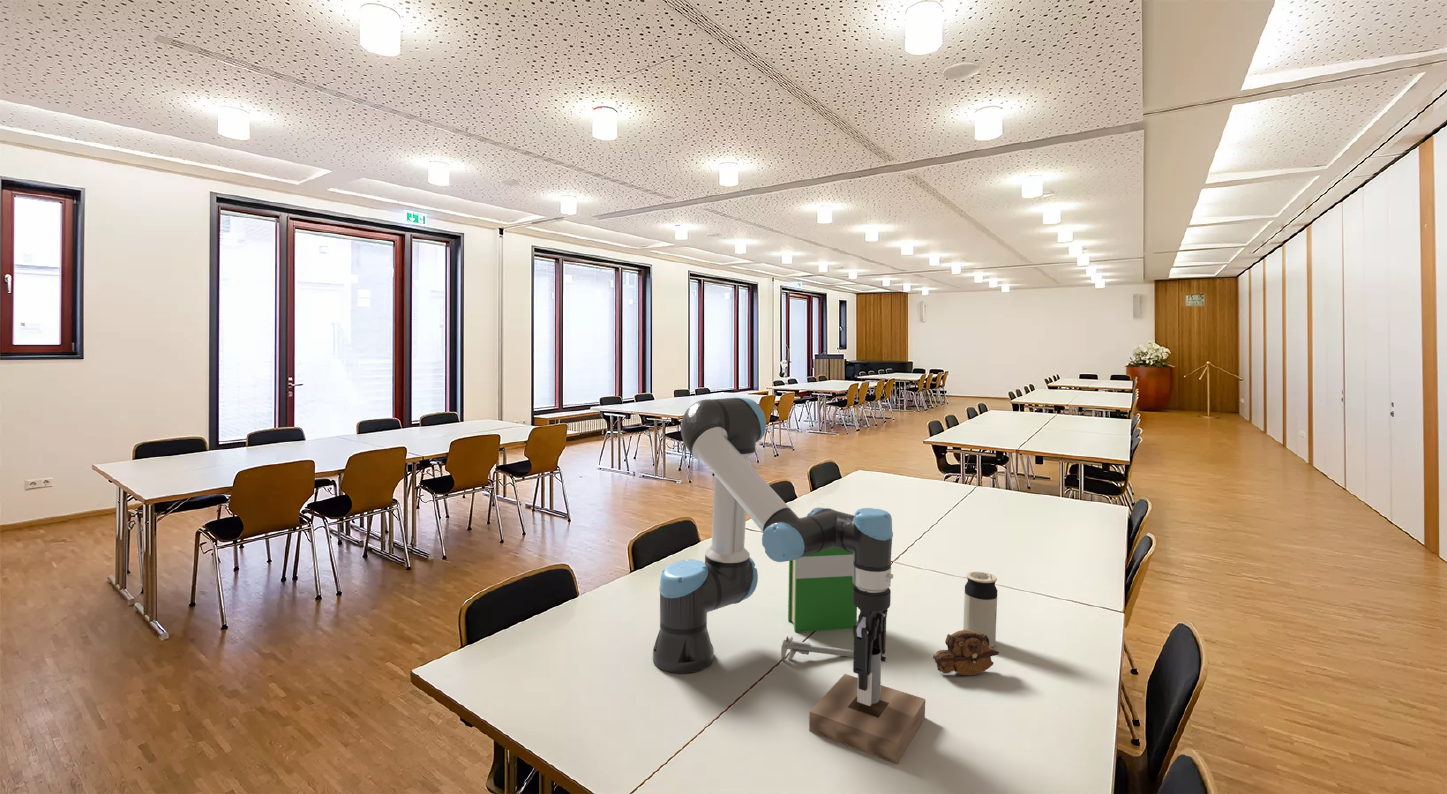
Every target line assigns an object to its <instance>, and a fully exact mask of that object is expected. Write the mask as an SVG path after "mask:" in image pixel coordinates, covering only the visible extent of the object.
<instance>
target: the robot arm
mask: <svg viewBox="0 0 1447 794" xmlns="http://www.w3.org/2000/svg"><path fill="white" fill-rule="evenodd" d="M766 419H767V418H766V415H765V413H764V411H763V409H762V408H761V405H759V404H758V403H757V401H755V400H753V399H751V398H746V397H727V398H726V397H725V398H712V399H711V398H709V399H701V400H698V401H696V402H694V403H693V404H691V405H690V406H689V407H688V408H687V409H686V411H685V412H684V414H683V416H682V419H681V422H680V423H681V424H680V435H681V438H682V441H683V443H684V445H685V448H686V449H687V450H688V452H689V453H690V454H691V455H692V457H694V459H695V460H697V461H702V462H703V463H704V464H705V465H706V467H708V469H709V470H710V471H711V472H712V474H713V475H714V481H713V482H714V483H713V500H712V501H713V504H712V505H713V506H712V508H713V509H712V527H711V545H710V546H709V547H708V548H707V549H706V550H705V553H704V554H705V555H704V561H702V560H700V559H699V560H698V559H688V560H685V559H682V560H678V561H675V562H673V563H671V564H668V565H667V566H666V567H665V568H663V570H662V571H661V574H660V581H659V587H658V588H659V629H658V630H659V631H658V633H657V637H656V639H655V642H654V646H653V649H652V662H653V664H654V666H655V667H657V668H658V669H660V670H662V671H664V672H669V673H674V674H689V673H690V674H691V673H695V672H699V671H702V670H704V669H706V668H708V667H709V666H710V665H712V663H713V662H714V649H715V648H714V646H713V643H712V641H711V637H710V634H709V631H708V627H707V626H708V625H707V624H708V613H709V612H712V611H716V610H718V609H721V608H724V607H727V606H730V605H735V604H739V603H741V602H742V601H744V600H746V599H749V598H750V597H751V596H752V595H753V593H755V591H756V588H757V586H758V579H759V574H758V569H757V568H756V567H755V566H756V564H755V561H754V560H753V558H752V557H751V556H750V552H749V551H748V550H747V549H746V548H745V543H746V542H745V541H746V540H745V539H746V524H747V523H746V522H747V520H746V519H747V518H746V517H747V515H748V516H749V517H750V518H751V520H752V521H753V522H754V523H755V524H756V525H757V527H758V528H759V530H760V531H761V532H763V533H762V535H761V544H762V547H763V548H764V553H765V554H766V556H767V557H768V558H769V559H770V560H772V561H774V562H777V563H784V562H789V561H790V560H796V559H798V558H800V557H803V556H806V555H809V554H812V553H817V552H821V551H824V550H827V549H831V548H838V549H842V550H845V551H848V552H852V553H853V584H854V586H853V598H852V601H853V604H854V605H855V606H856V607H857V609H858V610H859V614H858V616H857V624H858V625H857V626H855V625H854V627H853V629H852V635H853V650H854V657H852V658H853V665H852V667H853V668H852V672H853V673H854V674H856V675H857V678H858V688H857V702H859V703H862V704H865V705H868V706H870V705H871V698H872V673H870V669H871V659H872V649H873V646H876V647H878V648H879V649H880V650H881V663H882V662H883V663H885V662H886V660H887V657H886V656H884V655H885V654H886V647H887V646H886V641H887V639H886V636H887V635H886V634H887V617H888V610H889V608H890V607H891V588H890V587H891V585H892V584H891V582H892V580H893V578H894V574H893V573H892V547H893V545H892V544H893V537H894V532H893V519H892V515H891V513H890V512H888V511H886V510H884V509H880V508H873V507H872V508H871V507H863V508H859V509H857V510H856V511H855V512H854V514H850V513H846V512H842V511H837V510H835V509H832V508H829V507H828V508H825V507H815V508H812V509H811V511H810V512H809V513H808V514H807V515H806V516H804V517H798V515H797V514H796V513H795V512H794V511H793V510H792V509H791V508H790V507H789V505H788V504H787V503H786V502H785V501H784V499H782V498H781V497H780V495H779V494H778V493H777V492H776V491H775V490H774V489H773V488H772V487H771V486H770V485H769V483H767V481H766V480H765V479H764V478H763V477H762V476H761V475H760V474H759V472H758V471H757V470H756V469H755V468H754V467H753V466H752V465H751V464H750V458H751V457H752V456H753V455H754V454H755V453H756V447H757V446H756V443H758V442H759V441H761V440H762V439H763V437H764V436H765V435H766V431H767V421H766ZM881 679H882V672H881V673H880V689H881V685H882V683H881Z"/></svg>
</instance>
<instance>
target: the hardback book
mask: <svg viewBox="0 0 1447 794" xmlns="http://www.w3.org/2000/svg"><path fill="white" fill-rule="evenodd" d="M853 586H854V584H853V553H852V552H848V551H845V550H842V549H838V548H831V549H827V550H824V551H821V552H817V553H812V554H809V555H806V556H803V557H800V558H798V559H796V560H790V561H788V601H787V602H788V603H787V607H788V608H787V609H788V610H787V622H788V623H793V629H794V630H793V631H794V632H795V633H802V632H803V633H804V632H817V631H819V632H821V631H834V630H835V631H837V630H849V629H850V630H851V629H852V630H853V627H854V625H855V626H858V607H856V606H855V605H854V604H853V601H852V598H853Z"/></svg>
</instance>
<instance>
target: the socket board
mask: <svg viewBox="0 0 1447 794" xmlns="http://www.w3.org/2000/svg"><path fill="white" fill-rule="evenodd" d="M857 681H858V676H857V677H856V676H853V675H850V674H847V673H844V674H843V675H842V676H841V677H840V678H839V679H838V681H836V682H835V684H834V685H832V687H831V688H830V689H829V690H828V691H827V692H825V694H824V695H823V696H822V697H821V698H820V699H819V701H818V702H817V703H816V704H815V705H814V706H813V707H812V708H811V709H810V710H809V718H808V719H809V721H808V725H809V726H808V730H809V731H810V732H812V733H815V734H817V735H820V736H822V737H825V738H828V739H830V740H833V741H836V742H838V743H841V744H844V745H846V746H849V747H851V748H854V749H856V750H859V751H862V752H865V753H866V754H869V755H872V756H875V757H877V758H880V759H883V760H886V761H888V762H891V763H894V764H898V763H899V761H900V760H901V758H902V756H903V754H904V753H905V751H906V750H907V749H908V746H909V745H910V743H911V741H912V740H913V738H914V736H915V735H916V733H917V731H918V730H919V728H920V727H921V725H922V723H923V722H924V719H925V717H926V698H923V697H920V696H917V695H914V694H910V693H907V692H905V691H901V690H898V689H895V688H892V687H888V686H885V685H882V684H881V689H880V700H879V702H877V703H875V704H871V705H870V706H868V705H865V704H862V703H859V702H857Z"/></svg>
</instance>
